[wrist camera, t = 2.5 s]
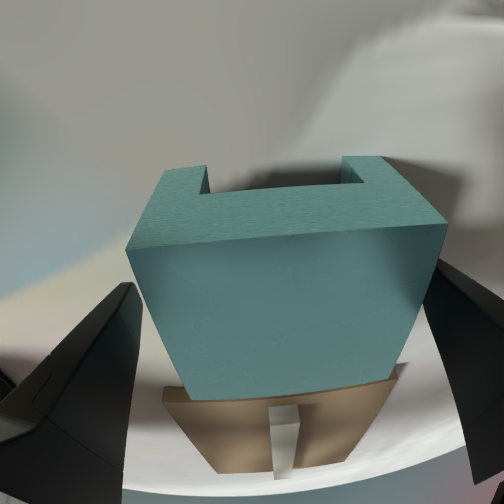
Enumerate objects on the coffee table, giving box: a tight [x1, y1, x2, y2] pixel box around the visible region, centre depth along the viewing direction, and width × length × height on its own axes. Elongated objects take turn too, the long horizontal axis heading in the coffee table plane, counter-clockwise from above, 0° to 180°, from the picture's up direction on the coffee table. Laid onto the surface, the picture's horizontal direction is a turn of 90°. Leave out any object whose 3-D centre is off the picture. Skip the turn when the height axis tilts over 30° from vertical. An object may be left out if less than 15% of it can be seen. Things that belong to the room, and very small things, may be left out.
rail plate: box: [162, 368, 398, 480], centre depth 20 cm, size 13×18×2 cm
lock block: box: [125, 156, 449, 400], centre depth 9 cm, size 6×6×4 cm
